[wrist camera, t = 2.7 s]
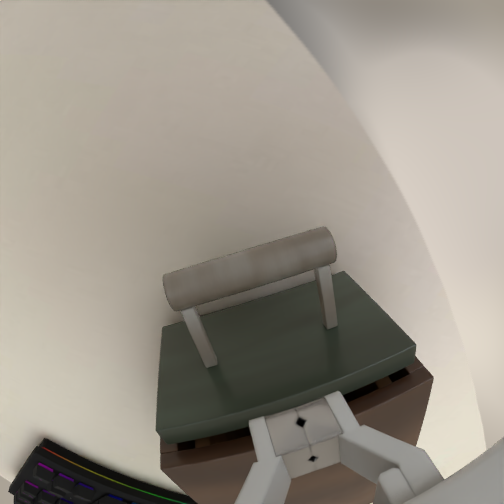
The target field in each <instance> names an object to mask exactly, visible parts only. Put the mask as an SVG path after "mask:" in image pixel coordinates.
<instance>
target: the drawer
mask: <svg viewBox="0 0 504 504" xmlns="http://www.w3.org/2000/svg"><path fill="white" fill-rule="evenodd" d="M336 258H337V252H336V246H335V242H334V240H333V237H332V235H331V233H330V231H329V230H328V229H327V228H326V227H324V226H323V227H319V228H316V229H313V230H309V231H306V232H303V233H299V234H296V235H293V236H289V237H286V238H283V239H279V240H276V241H273V242H269V243H266V244H263V245H259V246H256V247H253V248H249V249H246V250H243V251H240V252H236V253H233V254H230V255H226V256H223V257H220V258H217V259H213V260H210V261H207V262H203V263H200V264H197V265H193V266H190V267H187V268H184V269H180V270H177V271H174V272H171V273H167V274H165V275H164V276H163V286H164V290H165V294H166V297H167V300H168V302H169V304H170V306H171V308H172V309H173V310H174V311H180V310H181V313H182V316H183V318H184V320H185V321H183V322H179V323H176V324H172V325H169V326H165V327H163V328H162V339H161V350H160V363H159V376H158V392H157V412H156V431H157V433H158V434H159V435H160V436H161V438H162V439H163V440H164V441H165V443H166V444H168V445H169V444H174V443H180V442H185V441H190V440H195V448H199V447H204V446H208V445H213V444H217V443H222V442H226V441H230V440H234V439H238V438H242V437H246V436H250V435H251V432H250V427H249V420H252V419H256V418H259V417H263V416H264V417H265V416H266V415H270V414H274V413H277V412H281V411H284V410H287V409H291V408H294V407H295V406H298V405H301V404H303V403H306V402H309V401H312V400H314V399H317V398H320V397H322V396H323V397H324V396H326V395H328V394H331V393H334V392H336V391H339V392H341V394H342V396H343V397H344V399H345V401H346V403H347V402H350V401H352V400H355V399H357V398H359V397H362V396H364V395H366V394H369V393H371V392H373V391H375V390H378V389H380V388H382V387H384V386H386V385H388V384H391V383H393V382H392V381H391V379H390V378H389V377H388V375H390V374H392V373H394V372H397V371H399V370H401V369H403V368H405V367H407V366H409V365H411V364H413V363H414V361H415V352H416V344H415V343H414V342H413V341H412V339H411V338H410V337H409V336H408V335H407V334H406V333H405V332H404V331H403V330H402V329H401V328H400V327H399V326H398V325H397V324H396V323H395V322H394V321H393V320H392V319H391V318H390V317H389V315H388V314H387V313H386V312H385V311H384V310H383V309H382V308H381V307H380V306H379V305H378V304H377V303H376V302H375V301H374V300H373V299H372V298H371V297H370V296H369V295H368V294H367V293H366V292H365V291H364V290H363V289H362V288H361V287H360V286H359V285H358V284H357V283H356V282H355V281H354V280H353V279H352V278H351V277H350V276H349V275H348V274H347V273H346V272H345V271H342V272H339V273H336V274H333V275H331V269H330V265H329V264H331V263H334V262H335V261H336ZM313 269H314V271H315V277H316V281H313V282H310V283H307V284H304V285H301V286H298V287H295V288H291V289H288V290H285V291H282V292H279V293H276V294H273V295H270V296H266V297H263V298H260V299H257V300H254V301H250V302H247V303H244V304H241V305H237V306H234V307H231V308H228V309H224V310H221V311H217V312H214V313H211V314H207V315H204V316H199V314H198V311H197V309H196V306H197V305H200V304H204V303H207V302H210V301H214V300H217V299H220V298H224V297H227V296H230V295H234V294H237V293H240V292H243V291H247V290H250V289H253V288H256V287H260V286H263V285H266V284H269V283H272V282H276V281H279V280H282V279H285V278H288V277H291V276H294V275H297V274H301V273H304V272H307V271H310V270H313Z"/></svg>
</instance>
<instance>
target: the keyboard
mask: <svg viewBox="0 0 504 504" xmlns="http://www.w3.org/2000/svg"><path fill="white" fill-rule="evenodd" d="M8 492H10V493H11V494H13V495H14V504H198V503H197V502H195V501H194V500H193V499H192V498H191V497H189V496H186V495H182V494H178V493H175V492H172V491H168V490H165V489H162V488H159V487H156V486H153V485H150V484H147V483H144V482H141V481H138V480H135V479H133V478H130V477H127V476H125V475H122V474H120V473H117V472H115V471H112V470H110V469H108V468H105V467H103V466H101V465H98V464H96V463H94V462H92V461H89V460H87V459H85V458H83V457H81V456H79V455H77V454H75V453H73V452H71V451H69V450H67V449H65V448H63V447H61V446H59V445H58V444H56V443H54V442H52V441H50V440H48V439H45V438H44V440H43V441H42V442H41V444H40V445H39V446H36V448H35V449H34V451H33V452H32V454H31V455H30V456H29V458H28V459H27V461H26V462H25V464H24V465H23V467H22V468H21V470H20V471H19V473H18V475H17V476H16V478H15V479H14V481H13V482H12V484H11V485H10V488H9V491H8Z"/></svg>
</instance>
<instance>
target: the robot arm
mask: <svg viewBox="0 0 504 504" xmlns="http://www.w3.org/2000/svg"><path fill="white" fill-rule="evenodd" d="M249 427H250V432H251V436H252V440H253V444H254V448H255V452H256V456H257V460H258V462H255V463H253V465H252V467H251V470H250V472H249V474H248V476H247V478H246V480H245V483H244V485H243V487H242V489H241V491H240V493H239V495H238V497H237V499H236V501H235V503H234V504H284V502H285V499H286V496H287V493H288V490H289V486H290V483H291V479H293V478H296V477H299V476H302V475H304V474H307V473H310V472H313V471H316V470H319V469H322V468H325V467H328V466H330V465H333V464H336V463H339V462H341V463H342V464H343V465H345V466H347V467H348V468H350V469H352V470H353V471H355V472H356V473H358V474H360V475H361V476H363V477H365V478H367V479H368V480H370V481H372V482H373V483H375V484H377V487H376V491H375V496H374V500H373V504H504V437H503V438H502V439H500V440H499V441H498V442H497V443H495V444H494V445H493V446H492V447H491V448H489V449H488V450H486V451H485V452H484V453H483V454H481V455H480V456H479V457H477V458H476V459H474V460H473V461H472V462H470V463H469V464H467V465H466V466H465V467H463V468H462V469H460V470H459V471H457V472H456V473H454V474H453V475H451V476H450V477H448V478H446V479H445V480H444V478H443V477H442V475H441V474H440V472H439V471H438V469H437V468H436V466H435V465H434V463H433V462H432V460H431V459H430V457H429V456H428V455H427V453H426V452H425V450H423V449H421V448H418V447H416V446H413V445H410V444H408V443H406V442H403V441H401V440H398V439H396V438H393V437H391V436H389V435H386V434H384V433H382V432H380V431H377V430H375V429H373V428H370V427H368V426H366V425H362V426H360V425H359V424H358V422H357V420H356V418H355V417H354V415H353V413H352V411H351V410H350V408H349V406H348V404H347V403H346V401H345V399H344V397H343V396H342V394H341V392H339V391H336V392H334V393H331V394H328V395H326V396H324V397H323V396H322V397H320V398H317V399H314V400H312V401H309V402H306V403H303V404H301V405H298V406H295V407H294V408H291V409H287V410H284V411H281V412H277V413H274V414H270V415H266V416H265V417H264V416H263V417H259V418H256V419H252V420H249Z"/></svg>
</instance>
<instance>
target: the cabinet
mask: <svg viewBox="0 0 504 504" xmlns="http://www.w3.org/2000/svg"><path fill="white" fill-rule="evenodd" d="M388 377H389V378H390V379H391V381H392V382H393V383H391V384H388V385H386V386H384V387H382V388H380V389H378V390H375V391H373V392H371V393H369V394H366V395H364V396H362V397H359V398H357V399H355V400H352V401H350V402H347V404H348V406H349V408H350V410H351V411H352V413H353V415H354V417H355V418H356V420H357V422H358V424H359V425H360V426H362V425H366V426H368V427H370V428H373V429H375V430H377V431H380V432H382V433H384V434H386V435H389V436H391V437H393V438H396V439H398V440H401V441H403V442H406V443H408V444H410V445H413V446H416V444H417V441H418V437H419V434H420V431H421V427H422V424H423V420H424V416H425V413H426V409H427V405H428V401H429V397H430V392H431V388H432V383H433V379H434V378H433V376H432V375H431V373H430V372H429V371H428V370H427V369H426V368H425V367H424V366H423V364H422V363H421V362H420V361H419V360H418V359H417V357H416V356H415V361H414V363H413V364H411V365H409V366H407V367H405V368H403V369H401V370H399V371H397V372H394V373H392V374H390V375H388ZM160 454H161V455H160V466H161V470H162V471H163V472H164V473H165V474H166V475H167V476H168V477H169V478H170V479H171V480H172V481H173V482H174V483H175V484H177V485H178V486H179V487H180V488H181V489H182V490H183V491H184V492H185V493H186V494H187V495H189V496H190V497H191V498H192V499H193V500H194V501H195V502H197V503H198V504H234V503H235V501H236V499H237V497H238V495H239V493H240V491H241V489H242V487H243V485H244V483H245V480H246V478H247V476H248V474H249V472H250V470H251V467H252V465H253V463H255V462H258V460H257V456H256V452H255V448H254V444H253V440H252V436H251V435H250V436H246V437H242V438H238V439H234V440H230V441H226V442H222V443H217V444H213V445H208V446H204V447H199V448H195V440H190V441H185V442H180V443H174V444H169V445H168V444H166V443H165V441H164V440H163V439H162V438H161V436H160ZM376 487H377V484H375V483H373V482H372V481H370V480H368V479H367V478H365V477H363V476H361V475H360V474H358V473H356V472H355V471H353V470H352V469H350V468H348V467H347V466H345V465H343V464H342V463H341V462H339V463H336V464H333V465H330V466H328V467H325V468H322V469H319V470H316V471H313V472H310V473H307V474H304V475H302V476H299V477H296V478H293V479H291V483H290V486H289V490H288V493H287V496H286V499H285V502H284V504H370V503H372V502H373V500H374V496H375V491H376Z"/></svg>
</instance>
